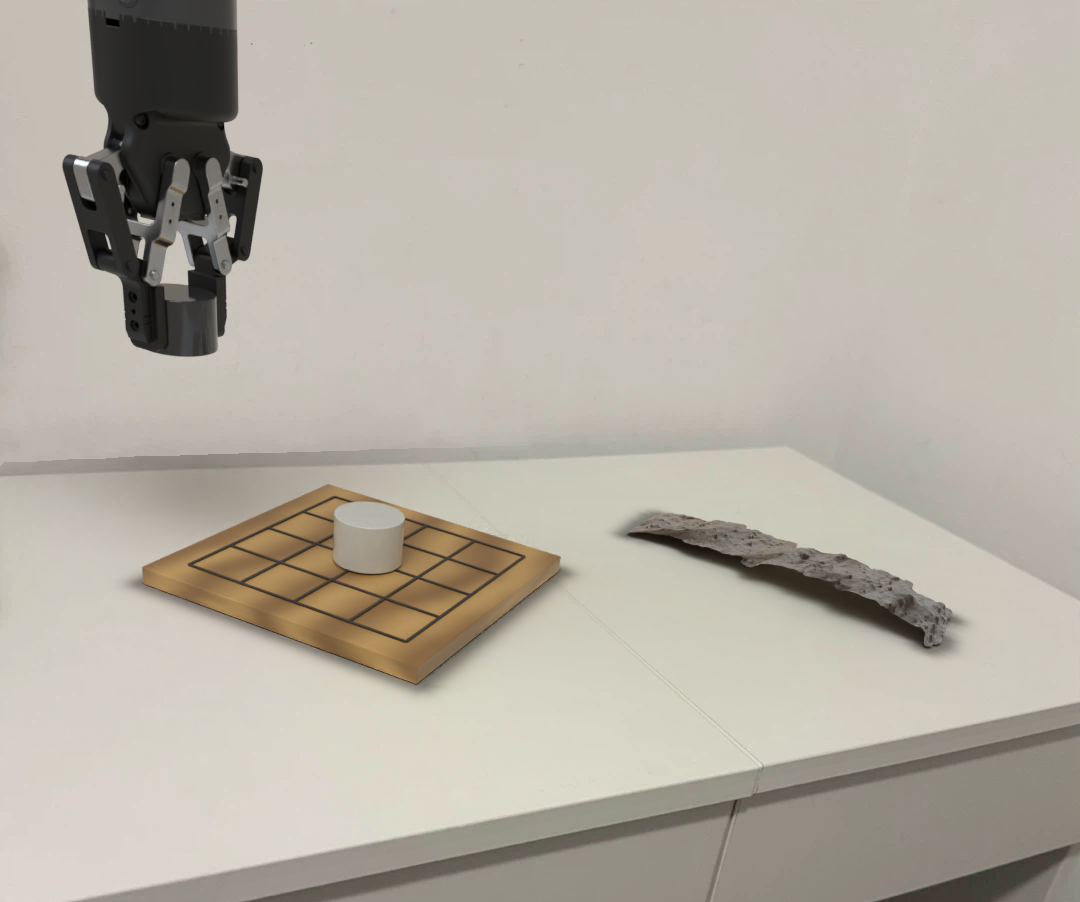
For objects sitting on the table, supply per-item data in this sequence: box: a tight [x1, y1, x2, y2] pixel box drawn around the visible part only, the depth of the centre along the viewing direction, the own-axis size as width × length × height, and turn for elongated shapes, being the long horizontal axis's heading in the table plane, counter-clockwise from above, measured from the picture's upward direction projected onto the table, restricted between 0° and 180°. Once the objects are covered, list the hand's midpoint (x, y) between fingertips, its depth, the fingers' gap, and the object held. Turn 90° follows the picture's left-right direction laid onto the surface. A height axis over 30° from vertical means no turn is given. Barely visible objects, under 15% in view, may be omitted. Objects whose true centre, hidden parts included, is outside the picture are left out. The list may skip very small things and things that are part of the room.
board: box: [141, 483, 562, 685], centre depth 71 cm, size 20×20×1 cm
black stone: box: [147, 282, 219, 358], centre depth 65 cm, size 5×5×3 cm
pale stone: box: [333, 502, 405, 574], centre depth 70 cm, size 5×5×3 cm
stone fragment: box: [626, 512, 954, 648], centre depth 80 cm, size 25×3×10 cm
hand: (178, 340), depth 65 cm, fingers closed on black stone, 4 cm apart
